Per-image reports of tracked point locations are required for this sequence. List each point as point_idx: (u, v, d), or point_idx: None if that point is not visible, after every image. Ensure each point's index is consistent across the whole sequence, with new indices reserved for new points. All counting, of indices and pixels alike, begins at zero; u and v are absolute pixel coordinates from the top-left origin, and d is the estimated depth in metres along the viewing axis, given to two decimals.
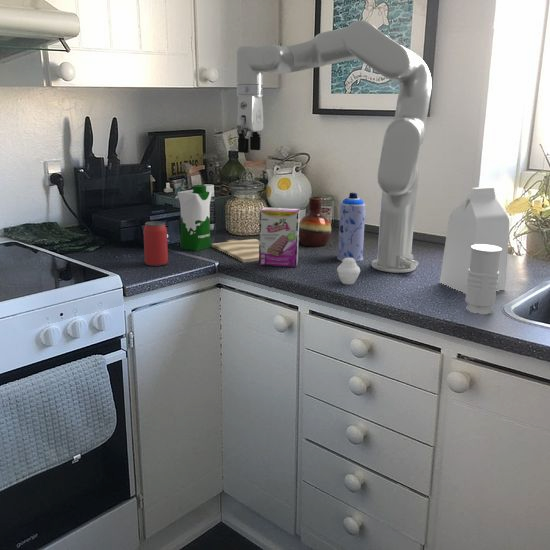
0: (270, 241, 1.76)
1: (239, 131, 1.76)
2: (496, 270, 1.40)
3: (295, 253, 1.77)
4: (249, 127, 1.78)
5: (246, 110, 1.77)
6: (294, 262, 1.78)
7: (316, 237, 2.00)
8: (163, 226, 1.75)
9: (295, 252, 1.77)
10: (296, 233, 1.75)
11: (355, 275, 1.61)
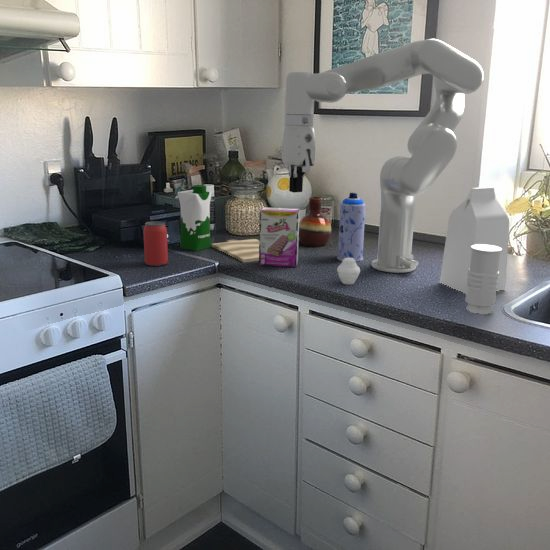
0: (270, 241, 1.76)
1: None
2: (496, 270, 1.40)
3: (295, 253, 1.77)
4: (313, 162, 1.61)
5: (311, 143, 1.60)
6: (294, 261, 1.78)
7: (316, 237, 2.00)
8: (163, 226, 1.75)
9: (295, 252, 1.77)
10: (296, 233, 1.75)
11: (355, 275, 1.61)
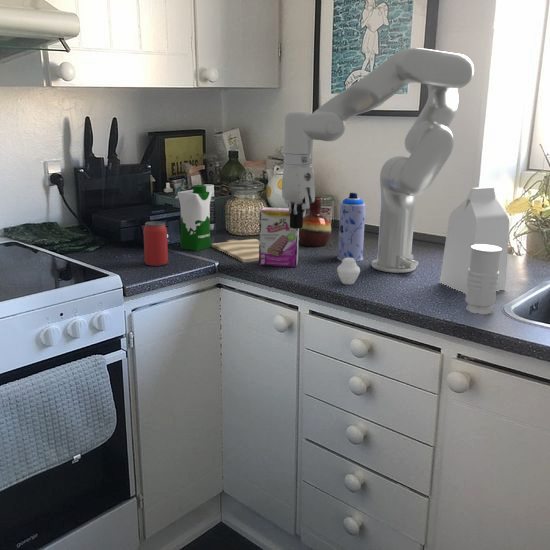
0: (270, 241, 1.76)
1: None
2: (496, 270, 1.40)
3: (295, 253, 1.77)
4: (313, 199, 1.64)
5: (310, 182, 1.62)
6: (294, 261, 1.78)
7: (316, 237, 2.00)
8: (163, 226, 1.75)
9: (295, 252, 1.77)
10: (296, 233, 1.75)
11: (355, 275, 1.61)
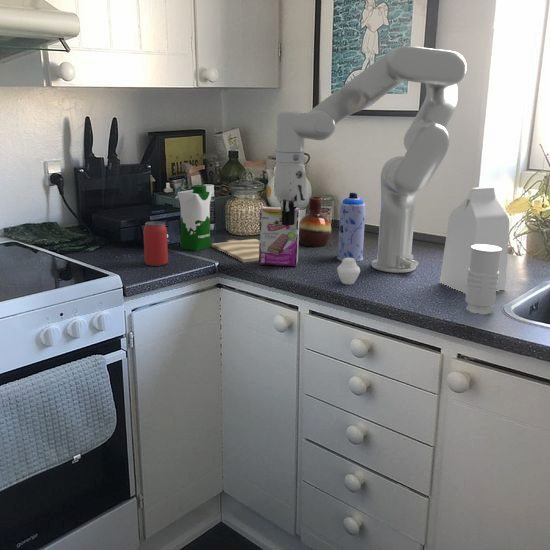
0: (270, 240, 1.77)
1: None
2: (496, 270, 1.40)
3: (295, 252, 1.77)
4: (304, 197, 1.68)
5: (302, 179, 1.66)
6: (294, 260, 1.78)
7: (316, 237, 2.00)
8: (163, 226, 1.75)
9: (295, 251, 1.77)
10: (296, 232, 1.76)
11: (355, 275, 1.61)
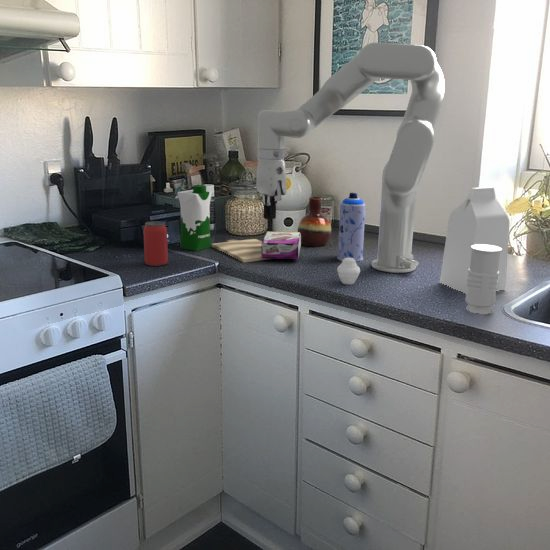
0: (274, 237, 1.88)
1: None
2: (496, 270, 1.40)
3: (297, 240, 1.85)
4: (284, 191, 1.76)
5: (282, 175, 1.74)
6: (296, 242, 1.83)
7: (316, 237, 2.00)
8: (163, 226, 1.75)
9: (297, 240, 1.85)
10: (298, 236, 1.91)
11: (355, 275, 1.61)
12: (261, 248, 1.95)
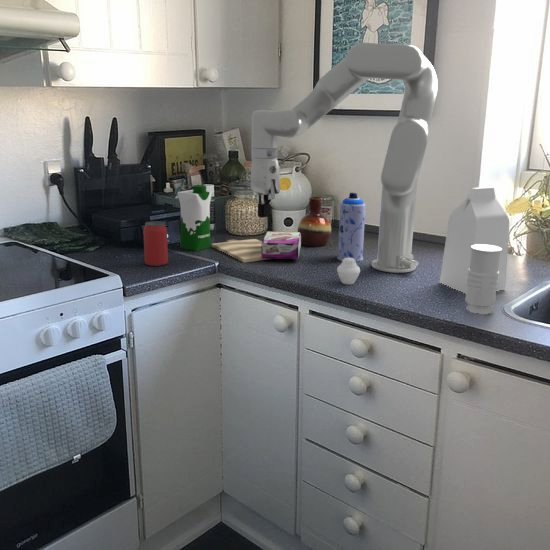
0: (274, 237, 1.88)
1: None
2: (496, 270, 1.40)
3: (297, 240, 1.85)
4: (278, 190, 1.79)
5: (275, 174, 1.77)
6: (296, 242, 1.83)
7: (316, 237, 2.00)
8: (163, 226, 1.75)
9: (297, 240, 1.85)
10: (298, 236, 1.91)
11: (355, 275, 1.61)
12: (261, 248, 1.95)
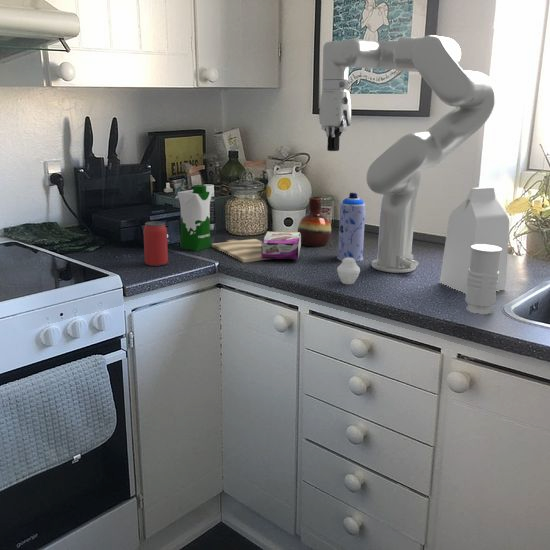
0: (274, 237, 1.88)
1: None
2: (496, 270, 1.40)
3: (297, 240, 1.85)
4: (349, 122, 1.80)
5: (347, 105, 1.78)
6: (296, 242, 1.83)
7: (316, 237, 2.00)
8: (163, 226, 1.75)
9: (297, 240, 1.85)
10: (298, 236, 1.91)
11: (355, 275, 1.61)
12: (261, 248, 1.95)
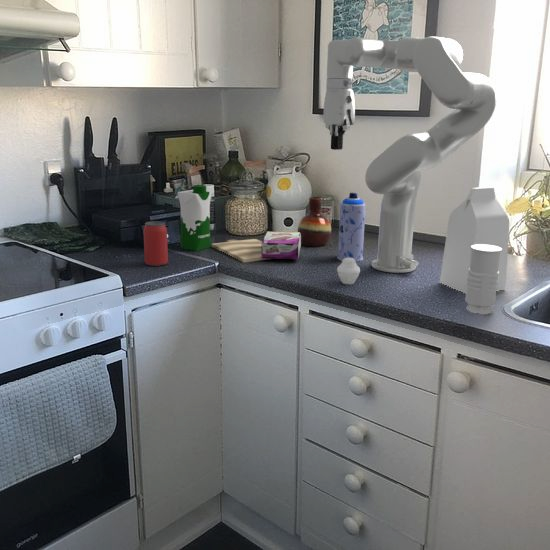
0: (274, 237, 1.88)
1: None
2: (496, 270, 1.40)
3: (297, 240, 1.85)
4: (353, 121, 1.80)
5: (351, 104, 1.79)
6: (296, 242, 1.83)
7: (316, 237, 2.00)
8: (163, 226, 1.75)
9: (297, 240, 1.85)
10: (298, 236, 1.91)
11: (355, 275, 1.61)
12: (261, 248, 1.95)
